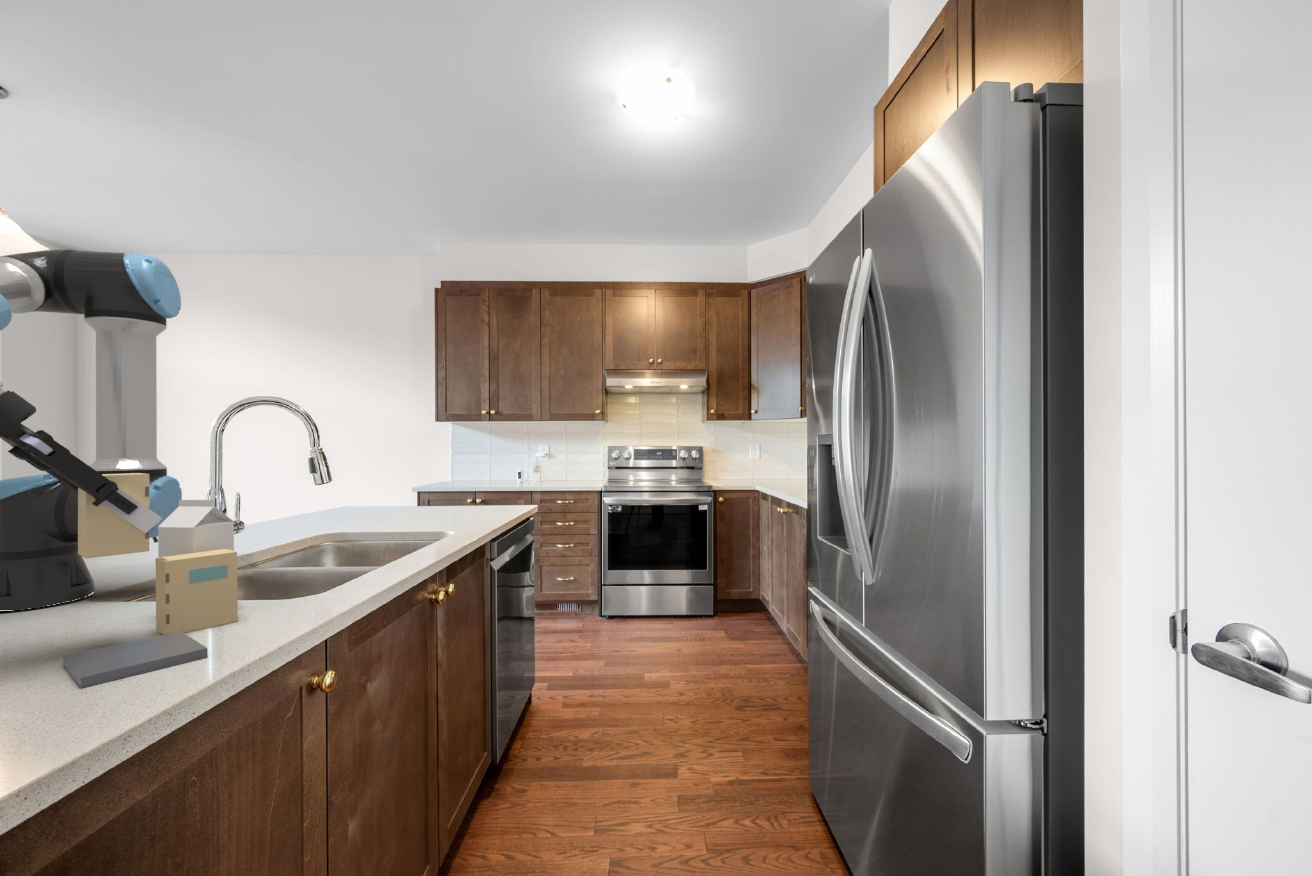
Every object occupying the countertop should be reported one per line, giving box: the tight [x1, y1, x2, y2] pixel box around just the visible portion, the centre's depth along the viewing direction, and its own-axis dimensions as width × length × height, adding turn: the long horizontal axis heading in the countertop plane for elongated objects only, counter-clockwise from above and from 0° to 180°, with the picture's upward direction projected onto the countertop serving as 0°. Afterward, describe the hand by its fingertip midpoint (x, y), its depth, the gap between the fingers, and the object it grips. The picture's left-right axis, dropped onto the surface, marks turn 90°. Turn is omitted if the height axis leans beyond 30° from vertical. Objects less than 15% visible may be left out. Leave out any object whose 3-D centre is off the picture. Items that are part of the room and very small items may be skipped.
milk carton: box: [157, 499, 235, 558], centre depth 97 cm, size 7×7×19 cm
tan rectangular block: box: [78, 473, 150, 559], centre depth 82 cm, size 6×6×11 cm
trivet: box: [62, 631, 208, 689], centre depth 76 cm, size 12×12×1 cm
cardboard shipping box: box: [155, 549, 239, 635], centre depth 91 cm, size 5×9×11 cm, turn 142°
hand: (147, 523), depth 85 cm, fingers closed on tan rectangular block, 6 cm apart
